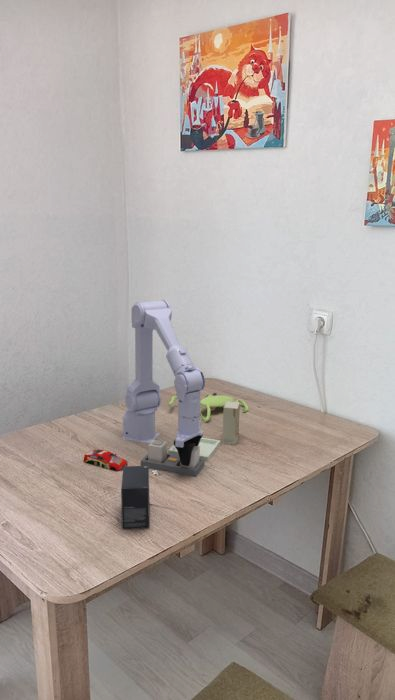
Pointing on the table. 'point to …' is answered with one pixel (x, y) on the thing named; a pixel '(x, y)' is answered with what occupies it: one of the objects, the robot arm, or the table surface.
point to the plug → (193, 458)
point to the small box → (135, 497)
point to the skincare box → (231, 423)
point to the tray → (202, 448)
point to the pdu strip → (173, 465)
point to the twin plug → (157, 451)
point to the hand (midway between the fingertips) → (188, 461)
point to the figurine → (214, 403)
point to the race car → (105, 460)
